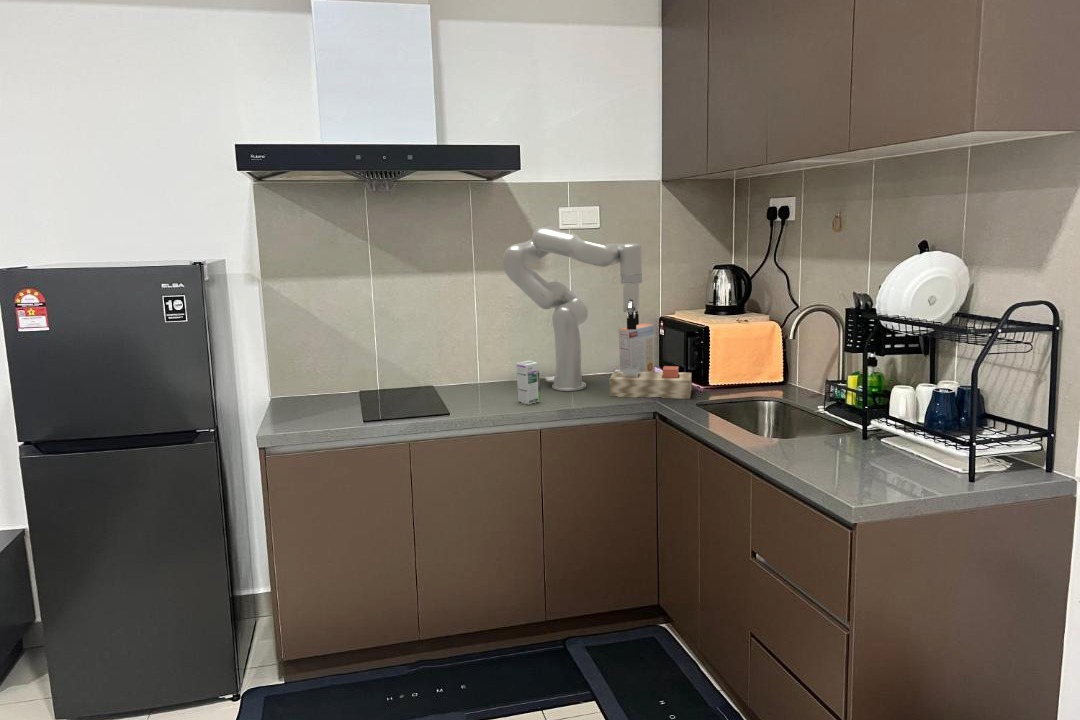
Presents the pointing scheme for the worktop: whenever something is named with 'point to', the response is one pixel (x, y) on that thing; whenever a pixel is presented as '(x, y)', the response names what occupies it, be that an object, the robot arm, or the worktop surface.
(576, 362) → the robot arm
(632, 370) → the grey cube
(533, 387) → the syrup box
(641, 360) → the cracker box
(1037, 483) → the worktop surface
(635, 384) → the beige woven basket
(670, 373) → the red cube
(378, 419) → the worktop surface
